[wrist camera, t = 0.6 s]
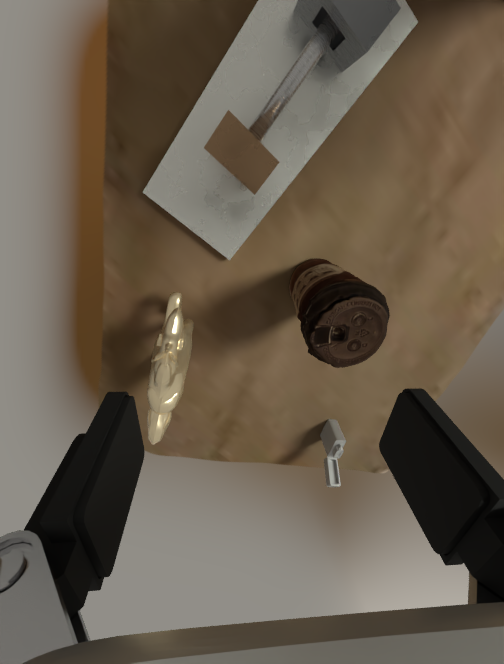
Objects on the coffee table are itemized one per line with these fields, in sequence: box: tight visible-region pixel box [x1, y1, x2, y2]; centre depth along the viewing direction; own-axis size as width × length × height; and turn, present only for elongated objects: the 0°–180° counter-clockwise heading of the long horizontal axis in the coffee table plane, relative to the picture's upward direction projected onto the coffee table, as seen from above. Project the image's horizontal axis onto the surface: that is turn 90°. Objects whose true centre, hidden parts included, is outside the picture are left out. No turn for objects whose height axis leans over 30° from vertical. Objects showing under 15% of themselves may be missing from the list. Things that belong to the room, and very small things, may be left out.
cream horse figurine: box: [147, 292, 194, 445], centre depth 31 cm, size 20×4×17 cm, turn 163°
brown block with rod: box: [204, 14, 340, 195], centre depth 22 cm, size 19×5×7 cm, turn 140°
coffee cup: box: [289, 259, 389, 368], centre depth 31 cm, size 9×8×13 cm
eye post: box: [143, 0, 418, 260], centre depth 25 cm, size 26×11×6 cm, turn 140°
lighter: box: [320, 419, 346, 487], centre depth 47 cm, size 7×2×8 cm, turn 167°
